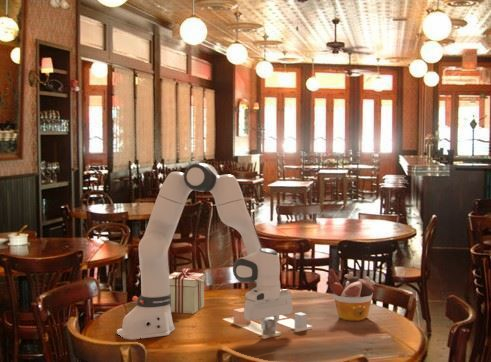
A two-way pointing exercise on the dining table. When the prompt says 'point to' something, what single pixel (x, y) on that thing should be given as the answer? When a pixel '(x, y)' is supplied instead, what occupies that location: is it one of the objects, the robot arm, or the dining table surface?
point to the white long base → (259, 327)
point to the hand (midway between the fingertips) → (269, 328)
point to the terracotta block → (240, 316)
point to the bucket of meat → (352, 296)
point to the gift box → (186, 291)
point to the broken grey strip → (290, 323)
